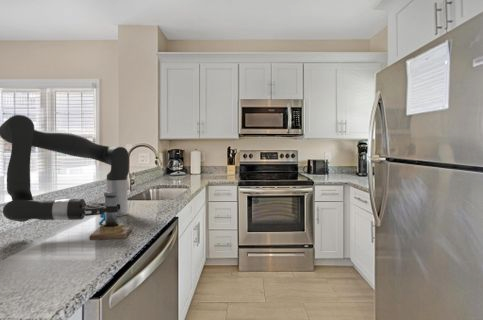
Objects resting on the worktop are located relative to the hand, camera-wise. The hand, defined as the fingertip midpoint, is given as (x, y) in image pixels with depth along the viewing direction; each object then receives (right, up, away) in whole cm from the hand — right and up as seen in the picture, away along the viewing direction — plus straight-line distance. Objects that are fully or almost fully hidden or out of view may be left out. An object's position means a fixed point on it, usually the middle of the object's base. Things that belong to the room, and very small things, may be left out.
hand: (118, 208), depth 117 cm
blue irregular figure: (-11, -10, +17) cm, 22 cm away
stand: (-3, -10, 0) cm, 10 cm away
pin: (-3, -8, 0) cm, 8 cm away
